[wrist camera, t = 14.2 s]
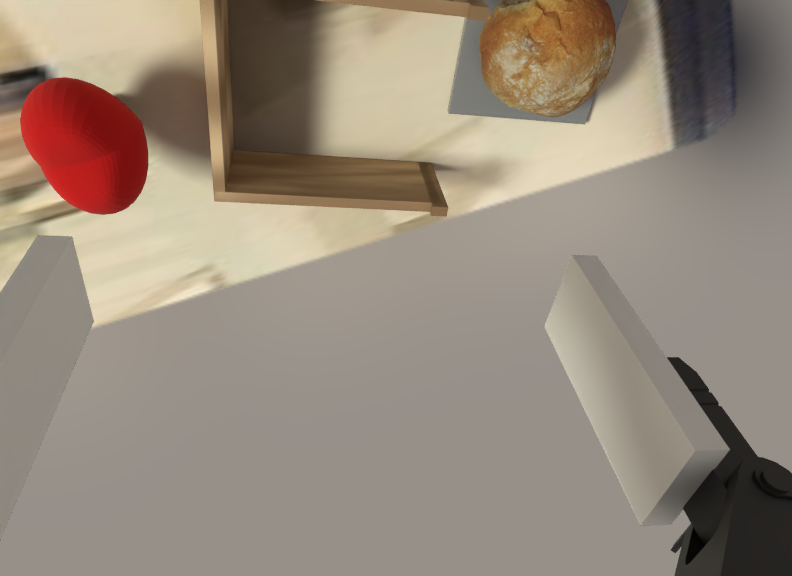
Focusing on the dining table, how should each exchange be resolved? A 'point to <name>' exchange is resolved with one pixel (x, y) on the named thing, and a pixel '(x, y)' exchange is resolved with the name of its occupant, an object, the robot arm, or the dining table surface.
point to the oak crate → (310, 174)
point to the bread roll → (547, 53)
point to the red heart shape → (86, 144)
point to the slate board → (476, 95)
